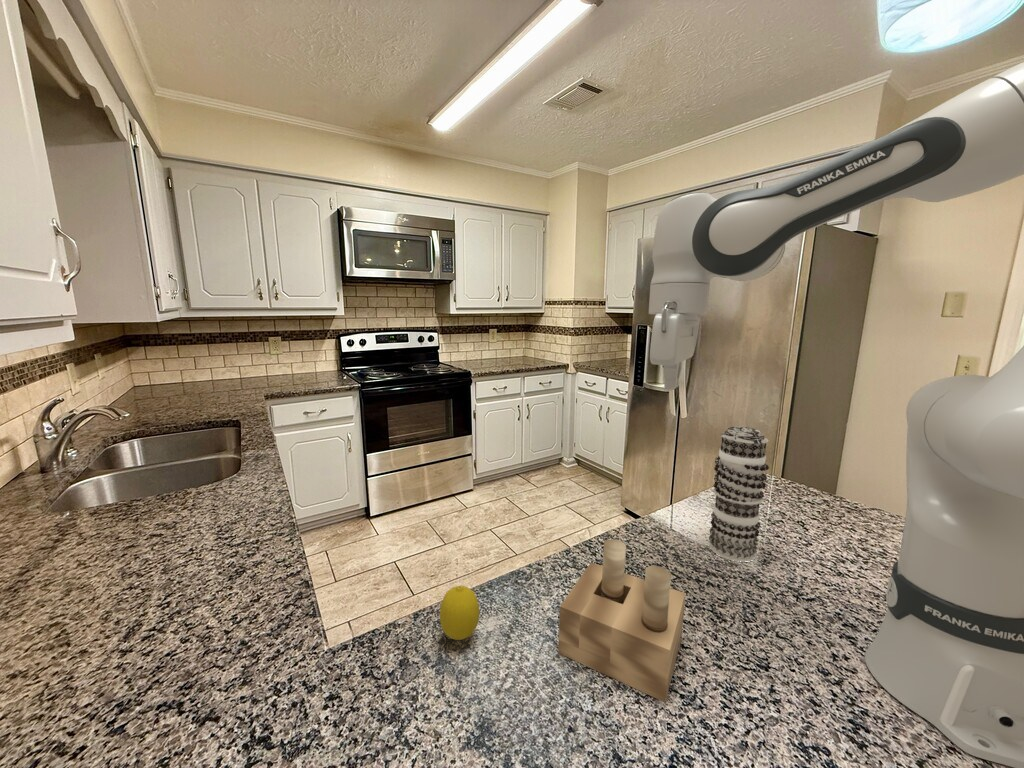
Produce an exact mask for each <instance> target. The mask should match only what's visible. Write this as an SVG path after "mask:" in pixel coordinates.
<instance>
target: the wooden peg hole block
mask: <svg viewBox="0 0 1024 768" xmlns="http://www.w3.org/2000/svg"><path fill="white" fill-rule="evenodd" d="M602 570H603V565H599V564H596V563H594V562H589V564H588V566H587V567H586V569H585V570H584V572H583V573H582V574H581V576H580V577H579V579H578V580H577V582H576V583H575V584H574V586H573V587H572V588H571V590H570V591H569V593H568V594H567V595H566V597H565V599H563V601H562V603H561V604H560V606H559V617H558V618H559V619H558V645H557V648H558V649H557V653H558V654H559V655H561V656H564V657H566V658H568V659H570V660H572V661H575V662H577V663H579V664H581V665H583V666H585V667H588V668H590V669H592V670H594V671H596V672H598V673H600V674H602V675H605V676H606V677H609V678H611V679H614V680H615V681H617V682H619V683H622V684H625V685H626V686H629V687H631V688H633V689H635V690H637V691H639V692H642V693H644V694H646V695H648V696H651V697H653V698H655V699H657V700H659V701H661V702H664V703H667V699H668V694H669V690H670V687H671V682H672V678H673V674H674V669H675V667H676V666H675V665H676V662H677V658H678V653H679V649H680V646H681V642H682V639H683V638H682V636H683V627H684V626H683V625H684V613H685V601H686V592H683V591H680V590H677V589H673V588H672V587H671V581H672V580H671V579H672V573H671V572H670V570H668V569H666V568H665V567H663V566H659V565H649V566H647V567H645V572H644V573H645V574H644V579H643V578H640V577H637V576H634V575H631V574H628V573H625V572H624V587H623V590H624V594H623V603H622V604H620V603H617V602H615V601H612V600H609V599H606V598H604V597H601V586H602Z"/></svg>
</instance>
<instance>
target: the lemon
mask: <svg viewBox="0 0 1024 768" xmlns="http://www.w3.org/2000/svg"><path fill="white" fill-rule="evenodd" d="M439 621H440V625H441V629H442V630H443V632H444V634H445V635H446V636H447V637H449V638H450V639H453V640H456V641H460V640H465V639H467V638H469V637H470V636H471V635H472V634H473V633H474V632H475V630H476V628H477V626H478V625H479V621H480V605H479V601H478V598H477V595H476V594H475V592H474V590H472V589H471V588H469V587H468V586H465V585H456V586H453V587H452V588H450V589H448V590H447V592H446V593H445V595H444V596H443V598H442V600H441V604H440V609H439Z"/></svg>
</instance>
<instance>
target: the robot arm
mask: <svg viewBox="0 0 1024 768" xmlns="http://www.w3.org/2000/svg"><path fill="white" fill-rule="evenodd" d="M1022 175H1024V61H1023V62H1021V63H1018V64H1015V65H1014V66H1012V67H1010V68H1008V69H1006V70H1003V71H1001V72H1000V73H997V74H996V75H993V76H992V77H989V78H988V79H986V80H984V81H982V82H980V83H978V84H977V85H974V86H972V87H969V89H966V90H964V91H963V92H961V93H959V94H957V95H956V96H954V97H952V98H950V99H948V100H946V101H945V102H943V103H941V104H940V105H939V104H938V106H936V107H934V108H932V109H931V110H929V111H927V112H925V113H923V114H922V115H920V116H919V117H917V118H915V119H913V120H912V121H909V122H907V123H906V124H904V125H902V126H901V127H899V128H897V129H895V130H893V131H891V132H889V133H888V134H885V135H883V136H881V137H879V138H876V139H875V140H872V141H869V142H867V143H865V144H863V145H861V146H858V147H857V148H855V149H852V150H850V151H848V152H845V153H843V154H841V155H839V156H837V157H835V158H833V159H831V160H828V161H827V162H824V163H822V164H820V165H818V166H815V167H813V168H811V169H808V170H807V171H805V172H802V173H800V174H799V175H796V176H794V177H792V178H790V179H788V180H786V181H783V182H780V183H776V184H774V185H770V186H764V187H760V188H759V187H758V188H751V189H743V190H738V191H734V192H731V193H728V194H726V195H723V196H722V197H719V198H718V199H717V198H715V197H714V196H713V195H712V194H711V193H708V192H702V191H701V192H690V193H686V194H682V195H680V196H677V197H674V198H673V199H671V200H670V201H668V202H667V203H665V204H664V206H663V207H662V208H661V210H660V211H659V214H658V216H657V219H656V224H655V229H654V238H653V244H652V255H651V256H652V258H651V260H652V263H653V274H652V278H651V281H650V285H649V286H650V287H649V288H650V289H649V300H648V302H649V304H648V315H655V316H654V317H653V318H654V319H653V323H652V331H651V339H650V348H649V361H650V363H651V365H655V366H656V365H659V366H663V374H664V389H666V390H671V391H673V390H675V389H677V388H678V387H679V386H680V378H681V377H680V376H681V374H682V373H681V372H682V369H683V364H684V363H683V362H684V361H686V360H688V359H690V358H692V357H693V356H694V353H695V350H696V345H697V341H698V334H699V330H700V329H699V328H700V324H701V317H703V316H706V315H707V314H708V310H709V309H708V307H709V298H710V297H709V296H710V286H711V280H712V278H713V279H714V278H724V279H728V280H732V281H735V282H736V281H737V282H747V281H753V280H757V279H759V278H761V277H763V276H766V275H767V274H769V273H770V272H772V271H773V270H774V269H775V267H777V266H778V265H779V263H780V261H781V260H782V259H783V257H784V253H785V249H786V244H787V243H788V242H789V241H791V240H792V239H793V238H796V237H797V236H799V235H801V234H803V233H806V232H808V231H810V230H812V229H816V228H817V227H820V226H822V225H826V224H827V223H830V222H832V221H834V220H836V219H838V218H839V219H840V218H842V217H844V216H846V215H849V214H851V213H854V212H857V211H859V210H861V209H863V208H865V207H868V206H871V205H874V204H876V203H880V202H883V201H887V200H891V199H901V198H906V199H907V198H909V199H915V200H918V201H922V202H926V203H927V202H928V203H940V202H945V201H950V200H952V199H957V198H960V197H964V196H967V195H972V194H975V193H976V192H980V191H983V190H986V189H990V188H992V187H995V186H998V185H1000V184H1003V183H1005V182H1008V181H1010V180H1013V179H1015V178H1018V177H1020V176H1021V177H1022ZM905 414H906V421H907V422H906V424H907V433H906V458H905V459H906V462H905V463H906V464H905V465H906V468H905V469H906V471H905V472H906V512H905V518H904V526H903V530H902V531H903V533H902V537H901V542H900V547H899V556H898V560H897V561H895V562H894V563H893V565H892V568H891V574H890V576H889V578H888V583H887V588H886V598H885V599H886V606H887V609H886V612H885V615H884V618H883V620H882V623H881V624H880V627H879V630H878V631H877V634H876V636H875V637H874V639H873V641H872V642H871V644H870V645H869V646H868V647H867V649H866V650H865V653H864V661H865V665H866V666H867V669H868V670H869V672H870V673H871V675H872V676H873V678H874V679H875V680H876V681H877V683H879V685H881V687H882V688H884V690H886V691H887V693H889V694H890V695H891V696H893V697H894V699H896V700H897V701H899V702H900V703H901V704H903V705H904V706H906V707H907V708H909V709H910V710H911V711H913V712H914V713H916V714H917V715H919V716H920V717H922V718H923V719H925V720H926V721H927V722H929V723H930V724H932V725H933V726H935V728H937V729H938V730H939V731H940V732H941V733H942V734H943V735H944V736H945V737H946V738H947V739H948V740H950V741H951V742H952V743H953V744H955V746H956V747H958V748H959V749H961V750H962V751H963V752H965V753H966V754H968V755H971V756H974V757H976V758H979V759H983V760H986V761H990V762H993V763H997V764H1001V765H1003V766H1006V767H1007V766H1008V767H1011V768H1024V345H1023V346H1022V347H1020V349H1019V350H1018V351H1017V352H1016V353H1015V354H1014V355H1013V357H1012V358H1011V359H1009V361H1008V362H1007V363H1006V364H1005V365H1004V366H1003V367H1001V369H999V370H998V371H997V372H996V373H994V374H993V375H990V376H986V375H977V374H960V375H954V376H949V377H948V376H947V377H944V378H940V379H936V380H934V381H931V382H928V383H926V384H925V385H924V386H923V385H922V386H921V387H920V388H918V389H917V390H916V391H915V392H914V393H913V394H912V395H911V397H910V399H908V402H907V405H906V413H905Z"/></svg>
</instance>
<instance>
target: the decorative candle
mask: <svg viewBox="0 0 1024 768" xmlns="http://www.w3.org/2000/svg"><path fill="white" fill-rule="evenodd" d="M719 435H720V437H721V441H720V447H719V449H718V455H717V456H716V457H715V460H714V463H715V464H714V468H713V470H714V471H715V474H714V478H713V479H714V480H713V481H714V483H713V486H712V487H713V488H714V489H713V492H714V494H715V503H714V504H713V511H712V513H710V514H711V515H710V516H711V520H710V524H711V527H710V528H709V534H710V535H709V536H708V539H709V543H708V546H709V545H710V548H711V549H712V550H713V551H714V552H715V553H716V554H718V555H720V556H721V557H724V558H726V559H725V560H727V559H729V560H728V561H730V560H734V561H739V562H740V561H741V562H745V561H751V560H754V559H755V558H756V559H757V552H758V551H757V550H758V549H759V548H758V545H759V539H758V538H757V537H759V534H760V531H759V529H760V528H761V523H760V522H759V521H760V511H759V510H760V504H762V502H763V500H764V497H765V495H764V494H765V493H764V492H763V491H761V490H762V489H765V488H766V486H767V483H765V482H764V481H766V480H767V479H768V476H767V475H766V474H765V473H764V472H765V471H768V470H770V466H769V465H768V464H767V463H766V462H767V461H768V460H767V455H766V452H767V451H766V449H767V443H768V442H769V439H768V438H767V437H765V436H764V434H763V432H761V431H760V430H759V429H756V428H752V427H746V426H729V427H728V428H727V429H726V430H725V431H724V432H721V433H720V434H719ZM710 548H709V549H710ZM716 554H715V555H716ZM718 555H717V556H718ZM720 556H719V557H720ZM721 557H720V558H721ZM724 558H723V559H724ZM756 559H755V560H756ZM734 561H733V562H734ZM739 562H738V563H739Z"/></svg>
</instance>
